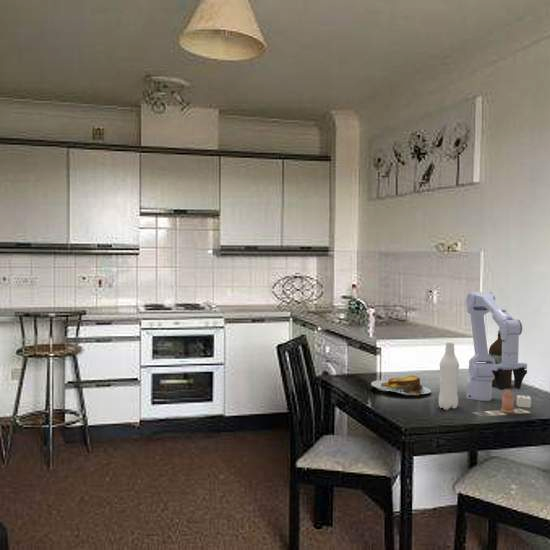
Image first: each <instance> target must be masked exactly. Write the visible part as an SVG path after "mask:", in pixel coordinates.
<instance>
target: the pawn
mask: <svg viewBox="0 0 550 550" xmlns="http://www.w3.org/2000/svg"><path fill="white" fill-rule="evenodd" d="M501 397H502V398H501V400H502V401H501V408H500V410H501V413H502V412H503V413H508V414H510V415H513V414H512V413H514V409H515V408H514V405H515V403H514V402H515V397H514V393H513V392H512V391H511V390H505V391H504V392H503V394H502V396H501Z"/></svg>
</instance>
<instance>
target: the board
mask: <svg viewBox="0 0 550 550" xmlns="http://www.w3.org/2000/svg"><path fill="white" fill-rule="evenodd" d="M531 413H532V412H530V411H528V410H525V409H522V408H521V407H518V408H514V413H512V414H508V413H503V412H501V409H497V410H488V411H487V410H486V411H485V410H484V411H474V412H473V411H472V414H475V415H477V416H479V417H481V418H485V417H486V418H487V417H495V416H497V417H498V416H508V415H517V414H531Z"/></svg>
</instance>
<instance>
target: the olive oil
mask: <svg viewBox="0 0 550 550" xmlns="http://www.w3.org/2000/svg"><path fill="white" fill-rule="evenodd" d="M488 354H489V355H490V356H491V357H492V358H494V360H495V364H500V363H502V339H501V334H500V331H499V330H498V331H497V339H496V340H495V341H494V342H493V343H492V344H491V345H490V347H489V349H488ZM503 372H506V376H505V380H504V389H509V387H510V388H511V387H512V379H513V370H512V369H510V370H503ZM492 388H497V389H498V386H497V382H496V379H495V378H494V380H492Z"/></svg>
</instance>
